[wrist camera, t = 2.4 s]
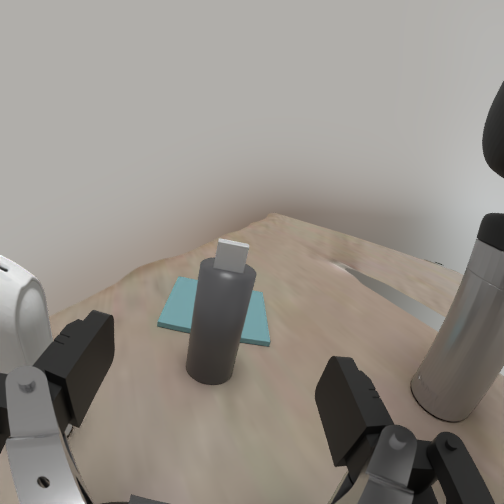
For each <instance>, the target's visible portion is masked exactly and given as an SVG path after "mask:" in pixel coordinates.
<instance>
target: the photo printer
mask: <svg viewBox="0 0 504 504" xmlns="http://www.w3.org/2000/svg"><path fill="white" fill-rule="evenodd" d="M52 341H53V338H52V333H51V328H50V322H49V316H48V310H47V303H46V297H45V292H44V289H43V287H42V284H41V282H40V281H39V280H38V279H37V278H36V277H35V276H34V275H32V274H31V273H30V272H29V271H27V270H26V269H24V268H23V267H21V266H20V265H18V264H17V263H15V262H13V261H11V260H9V259H8V258H6V257H4V256H2V255H0V373H4V374H9V373H10V372H11V371H12V370H13V369H15V368H17V367H20V366H33V364H34V363H35V362H36V361H37V359H38V358H39V357H40V356H41V355H42V353H43V352H44V351H45V350H46V349H47V347H48V346H49V345H50V344H51V343H52ZM71 429H72V425H71V424H68V426H67V428H66V430H65V433H66V436H67V435H68V434H69V433H70V431H71Z"/></svg>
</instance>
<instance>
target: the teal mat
mask: <svg viewBox="0 0 504 504" xmlns="http://www.w3.org/2000/svg"><path fill="white" fill-rule="evenodd" d="M197 283H198V280H194V279H189V278H184V277H178V279H177V281H176V283H175V285H174V287H173V290H172V292H171V294H170V296H169V298H168V300H167V302H166V304H165V307H164V309H163V311H162V313H161V315H160V317H159V320H158V324H157V326H159V327H163V328H168V329H173V330H177V331H182V332H187V333H190V331H191V323H192V316H193V309H194V303H195V296H196V289H197ZM240 342H242V343H249V344H256V345H263V346H269V345H270V337H269V331H268V324H267V318H266V312H265V305H264V299H263V293H262V292H258V291H252V295H251V299H250V303H249V307H248V311H247V315H246V319H245V323H244V327H243V331H242V335H241V339H240Z"/></svg>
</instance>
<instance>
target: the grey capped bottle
mask: <svg viewBox="0 0 504 504" xmlns="http://www.w3.org/2000/svg"><path fill="white" fill-rule="evenodd" d="M248 250H249V244H245V243H240V242H235V241H230V240H225V239H220V238H219V241H218V246H217V251H216V257H215V258H208V259H205V260H203V261H202V262H201V264H200V270H199V277H198V283H197V289H196V296H195V303H194V309H193V316H192V323H191V331H190V338H189V346H188V354H187V362H186V370H187V372H188V374H189V375H190V376H191V377H192V378H193V379H195V380H196V381H198V382H201V383H204V384H209V385H217V384H222V383H224V382H226V381H227V380H229V379H230V377H231V375H232V371H233V367H234V363H235V359H236V355H237V351H238V347H239V343H240V339H241V335H242V331H243V327H244V323H245V319H246V315H247V311H248V307H249V303H250V299H251V295H252V290H253V286H254V282H255V278H256V272H255V270H254V269H253V268H252V267H250V266H249V265H247V264H245V263H246V259H247V254H248Z"/></svg>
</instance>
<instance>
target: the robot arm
mask: <svg viewBox="0 0 504 504" xmlns="http://www.w3.org/2000/svg"><path fill="white" fill-rule="evenodd" d="M482 146H483V154H484V157H485V160H486V162H487V164H488V165H489V167H490V168H491V169H492V170H493V171H494V172H496V173H497V174H498V175H500V176H501V177H503V178H504V81H503V83H502V85H501V87H500V89H499V91H498V93H497V95H496V97H495V99H494V101H493V103H492V106H491V108H490V110H489V113H488V116H487V119H486V123H485V127H484V131H483V140H482ZM477 238H478V239H476V242H475V245H474V248H473V251H472V254H471V257H470V260H469V262H468V265H467V268H466V271H465V274H464V276H463V279H462V281H461V284H460V286H459V289H458V291H457V294H456V296H455V298H454V301H453V303H452V305H451V307H450V309H449V312H448V314H447V316H446V318H445V320H444V322H443V324H442V326H441V328H440V330H439V332H438V334H437V336H436V338H435V340H434V342H433V344H432V346H431V348H430V349H429V351H428V353H427V355H426V356H425V358H424V360H423V362H422V363H421V365H420V367H419V368H418V370H417V372H416V373H415V375H414V377H413V379H412V381H411V388H412V392H413V394H414V396H415V398H416V399H417V401H418V402H419V403H420V404H421V405H422V406H423V407H424V408H425V409H426V410H427V411H428V412H430V413H431V414H433V415H434V416H436V417H438V418H441V419H443V420H447V421H461V420H464V419H465V418H467V417H468V416H469V415H470V413H471V412H472V411H473V409H474V408H475V407H476V406H477V404H478V403H479V402H480V400H481V399H482V398H483V396H484V395H485V393H486V392H487V391H488V389H489V388H490V386H491V385H492V383H493V382H494V380H495V379H496V377H497V376H498V374H499V372H500V371H501V369H502V368H503V366H504V214H502V213H501V214H500V213H490V214H486V215H485V216H484V218H483V220H482V222H481V225H480V228H479V232H478V235H477ZM114 351H115V347H114V318H113V316H112V315H109V314H106V313H102V312H99V311H96V310H93V311H91V312H90V314H89V315H88V316H87V317H86V318H85V319H84V321H82V320H79V319H78V320H76V321H74V322H72V323H70V324H68V325H66V327H65V328H64V329H63V330H62V331H61V332H60V335H58V336H57V337H56V338H55V339H54V342H53V341H52V343H51V344H50V345H49V346H48V347H47V349H46V350H45V351H44V352H43V353H42V355H41V356H40V357H39V358H38V359H37V361H36V362H35V363H34V364H33V366H20V367H17V368H15V369H13V370H12V371H11V372H10V373H9V374H4V373H0V453H1V451H2V449H3V447H4V445H5V443H6V448H7V454H8V459H9V464H10V468H11V473H12V477H13V481H14V485H15V488H16V492H17V495H18V499H19V502H20V504H94V502H93V499H92V497H91V495H90V493H89V491H88V489H87V488H86V486H85V484H84V481H83V479H82V477H81V475H80V472H79V470H78V467H77V465H76V462H75V459H74V457H73V454H72V451H71V448H70V445H69V443H68V440H67V436H66V433H65V430H66V428H67V426H68V424H71V425H73V426H76V427H78V428H79V427H80V425H81V423H82V421H83V419H84V417H85V415H86V413H87V411H88V409H89V407H90V405H91V403H92V401H93V399H94V397H95V395H96V393H97V391H98V389H99V387H100V385H101V383H102V381H103V379H104V377H105V376H106V374H107V372H108V370H109V368H110V366H111V364H112V361H113V358H114ZM379 397H380V396H379V394H378V392H377V391H375V387H374V385H373V383H372V381H371V379H370V378H369V377H367V376H366V375H365V374H364V373H363V372H362V371H359V370H358V368H357V366H356V364H355V362H354V360H353V359H352V358H350V357H337V356H332V357H331V358H330V359H329V361H328V363H327V365H326V367H325V370H324V372H323V374H322V376H321V378H320V380H319V382H318V384H317V387H316V390H315V401H316V404H317V408H318V411H319V414H320V418H321V421H322V424H323V428H324V431H325V435H326V438H327V442H328V445H329V449H330V452H331V456H332V459H333V463H334V466H335V467H338V466H347V468H348V471H347V472H346V473H345V474H344V476H343V478H342V480H341V482H340V483H339V485H338V487H337V489H336V490H335V492H334V494H333V496H332V497H331V499H330V501H329V502H328V504H438V502H437V499H436V497H435V494H434V492H433V489H432V487H431V485H432V484H434V483H435V482H436V481H437V480H439V482H440V484H441V487H442V489H443V491H444V494H445V496H446V504H495V503H494V501H493V499H492V497H491V495H490V492H489V490H488V488H487V486H486V484H485V482H484V480H483V479H482V477H481V475H480V473H479V471H478V469H477V467H476V465H475V463H474V462H473V460H472V458H471V456H470V454H469V452H468V451H467V449H466V447H465V445H464V444H463V442H462V440H461V439H460V438H459V437H458V436H456V435H455V434H453V433H450V432H442V433H440V434H438V435H437V437H436V438H435V439H434V440H433V441H423V440H416V438H415V436H414V434H413V433H412V432H411V431H410V430H408V429H407V428H405V427H403V426H400V425H394V423H393V421H392V419H391V417H390V415H389V413H388V411H387V409H386V407H385V406H384V404H383V402H382V400H381V398H379ZM9 436H11V437H10V438H8V437H9ZM102 504H169V503H164V502H159V501H155V500H151V499H146V498H142V497H139V496H135V495H131V497H130V501H129V502H109V503H102Z"/></svg>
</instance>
